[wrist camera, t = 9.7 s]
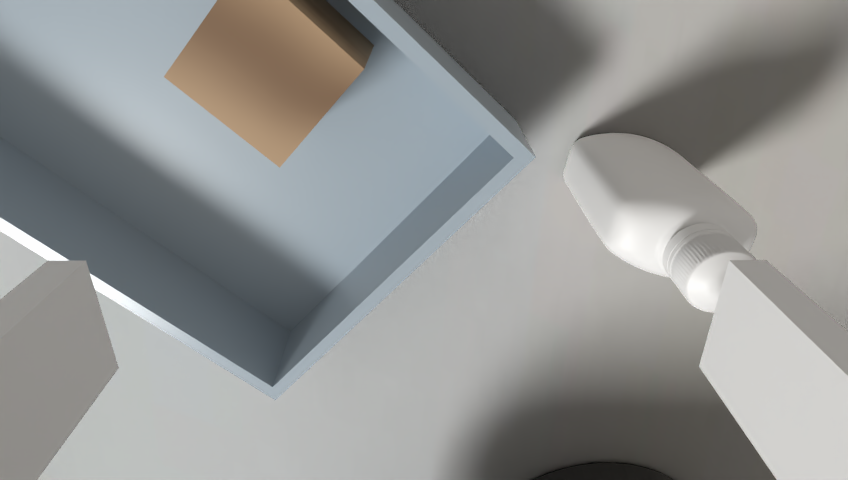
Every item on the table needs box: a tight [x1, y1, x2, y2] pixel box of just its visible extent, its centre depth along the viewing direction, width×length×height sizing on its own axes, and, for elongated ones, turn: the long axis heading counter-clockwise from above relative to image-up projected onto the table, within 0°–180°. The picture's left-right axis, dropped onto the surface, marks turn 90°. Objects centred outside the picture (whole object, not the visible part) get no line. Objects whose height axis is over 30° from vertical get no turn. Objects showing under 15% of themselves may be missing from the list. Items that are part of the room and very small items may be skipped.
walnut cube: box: [164, 0, 374, 168], centre depth 22 cm, size 5×5×5 cm
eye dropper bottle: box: [563, 133, 757, 312], centre depth 22 cm, size 4×6×12 cm
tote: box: [0, 0, 535, 400], centre depth 23 cm, size 25×17×5 cm
